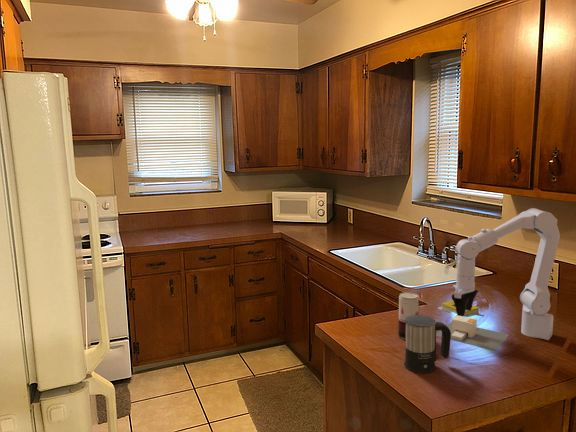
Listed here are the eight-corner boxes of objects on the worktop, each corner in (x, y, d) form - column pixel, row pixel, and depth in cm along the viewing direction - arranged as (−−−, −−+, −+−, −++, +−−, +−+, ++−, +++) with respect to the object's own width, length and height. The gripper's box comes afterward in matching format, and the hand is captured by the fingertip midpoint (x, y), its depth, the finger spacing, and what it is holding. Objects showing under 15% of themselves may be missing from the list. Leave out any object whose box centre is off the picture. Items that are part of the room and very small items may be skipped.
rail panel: (509, 337, 161) (509, 331, 161) (495, 353, 149) (495, 347, 149) (451, 324, 174) (451, 318, 174) (434, 338, 162) (434, 332, 161)
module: (476, 333, 163) (476, 319, 162) (471, 337, 159) (472, 323, 158) (456, 328, 167) (456, 314, 166) (451, 332, 164) (451, 318, 163)
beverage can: (421, 338, 162) (422, 296, 160) (405, 341, 160) (406, 299, 157) (410, 331, 168) (411, 291, 166) (394, 334, 166) (395, 293, 163)
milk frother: (416, 376, 136) (417, 328, 134) (385, 354, 150) (385, 310, 148) (454, 366, 142) (456, 319, 139) (420, 346, 156) (421, 303, 154)
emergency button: (466, 310, 177) (436, 298, 190) (466, 321, 178) (436, 309, 191) (483, 305, 181) (453, 295, 195) (482, 316, 182) (452, 305, 195)
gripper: (461, 268, 168) (459, 304, 170) (446, 277, 157) (444, 316, 159) (481, 271, 164) (479, 308, 166) (467, 281, 153) (465, 321, 155)
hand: (464, 312), depth 162 cm, fingers open, 6 cm apart
